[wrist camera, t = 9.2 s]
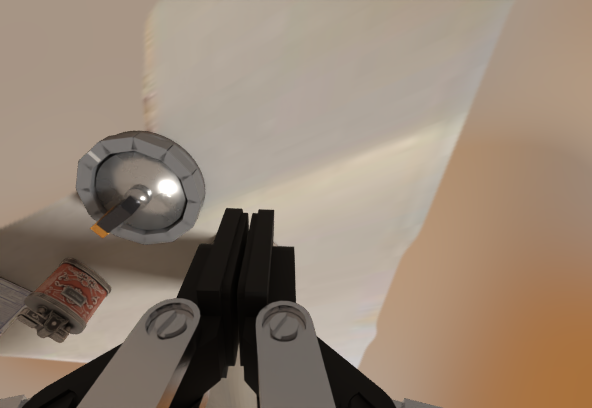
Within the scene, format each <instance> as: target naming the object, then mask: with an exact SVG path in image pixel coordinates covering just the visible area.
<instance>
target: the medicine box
mask: <svg viewBox="0 0 592 408" xmlns="http://www.w3.org/2000/svg"><path fill="white" fill-rule="evenodd" d="M30 293H32V292H30V291H28V290H26V289H24V288H22V287H20V286H17V285H15V284H13V283H11V282H9V281H7V280H4V279H2V278H0V336H1V335H2V334H3V333H4V332H5V331H6V330H7V329H8V328H9V326H10V325H11V324H12V323H13V322H14V321H15V320H16V319H17V315H18V314H19V313H20V312H21V311H22V310H23V309H24V308H26V307H27V306H26V305H25V303H24V300H25V298H26V297H27V296H28V295H29V294H30Z"/></svg>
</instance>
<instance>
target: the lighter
mask: <svg viewBox="0 0 592 408" xmlns="http://www.w3.org/2000/svg"><path fill="white" fill-rule="evenodd" d="M110 292H111V286H110V285H109V284H108V283H107V282H106V281H105V280H104V279H103V278H102V277H101V276H99V275H98V274H97V273H96V272H95V271H93V270H92V269H90V268H89V267H87V266H86V265H84V264H82V263H81V262H79V261H77V260H75V259H73V258H67V259H65V260H64V261H63V262H62V263H61V264H60V265H59V268H58V269H57V270H56V271H55V272H54V273H53V274H52V275H51V276H50V277H49V278H48V279H47V280H46V281H45V282H44V283H43V284H42V285H41V286H40V287H38V288H37V289H36V290H35V291H34V292H32V293H30V294H29V295H28V296H27V297H26V298H25V300H24V303H25V305H26V306H27V307H26V308H24V309H23V310H22V311H21V312H20V313H19V314H18V315H17V319H18V320H19V321H21V322H23V323H24V324H26V325H28V326H29V327H31V328H35V329H36V330H37V335H38V336H39V337H41V338H45V337H50V338H51V339H53V340H55V341H56V342H58V343H62V342H63V341H64V340H65V339H66V338H67V336H68V335H69V333H71V334H79V333H81V332H82V331H83V330H84V329H85V327H86V323H87V322H88V321H89V319H90V318H91V316H92V315H93V313H94V312H95V311H96V309H97V308H98V306H99V305H100V304H101V302H102V301H103V299H104V298H105V297H107V296H108V294H109V293H110Z"/></svg>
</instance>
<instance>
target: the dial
mask: <svg viewBox="0 0 592 408" xmlns="http://www.w3.org/2000/svg"><path fill="white" fill-rule="evenodd" d="M96 190H97V194H98V196H99V199H100V201H101V202H102V204H103V205H104V207H105V208H106V209H107V210H108V212H107V213H106V214H105V215H103V216H102V217H101V218H100V219H99V220H98V221H97V222H96V223H95V224H94V225H93V226H92V227H91V228H90V229H91V230H93V231H94V232H95V233H97V234H98V235H99V236H100V237H102V238H104V237H105V236H106V235H108V234H109V233H110V232H111V231H112V230H113V229H115V228H116V227H117V226H119V225H120V224H121V223H125V224H127V225H129V226H131V227H134V228H138V229H143V230H157V229H162V228H165V227H168V226H170V225H171V224H173V223H174V222H175V221H177V219H178V218H179V217H180V216H181V214H182V212H183V211H184V209H185V207H186V205H187V197H186V194H185V191H184V188H183V185H182V182H181V179H180V178H179V177H178V176H177V175H176V174H175V173H174V172H173V171H172V170H171V169H170V168H169V167H168V166H167V165H165V164H164V163H163V162H162V161H161V160H159V159H156V158H153V157H151V156H148V155H145V154H142V153H140V152H137V151H127V152H119V153H117V154H115V155H114V156H112V157H111V158H109V159H108V160H107V161H105V162H104V163H103V164H102V166H101V167H100V169H99V171H98V173H97V176H96Z"/></svg>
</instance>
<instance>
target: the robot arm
mask: <svg viewBox="0 0 592 408" xmlns="http://www.w3.org/2000/svg"><path fill="white" fill-rule="evenodd" d="M273 236H274V210H261V209H259V211H258V213H253V214H252V218H251V223H250V228H249V221H248V213H243V210H242V209H235V208H226V210H225V213H224V215H223V218H222V221H221V224H220V226H219V229H218V232H217V235H216V237H215V240H214V242H213V243H212V244H200V245H199V247H198V249H197V251H196V254H195V256H194V258H193V261H192V263H191V265H190V268H189V270H188V272H187V275H186V277H185V279H184V282H183V284H182V286H181V288H180V291H179V293H178V295H177V298H174V299H169V300H165V301H162V302H160V303H157V304H156V305H154V306H153V307H151V308H150V309H149V310H148V311H147V312H146V313H145V314H144V315H143V316H142V317H141V319H140V320H139V322H138V323H137V324H136V326H135V327H134V328H133V330H132V331H131V333H130V334H129V335H128V337H127V338H126V340H125V341H124V342H123V343H122V344H120V345H118V346H117V347H115V348H113V349H111V350H110V351H108V352H106V353H104V354H103V355H101V356H99V357H97V358H96V359H94V360H92V361H91V362H89V363H87V364H85V365H84V366H82V367H80V368H78V369H77V370H75V371H73V372H71V373H70V374H68V375H66V376H64V377H63V378H61V379H59V380H57V381H56V382H54V383H52V384H50V385H49V386H47V387H45V388H44V389H42V390H41V391H40V392H38V393H37V394H35V395H34V396H33V397H32V398H29V399H27V398H26V397H25V395H19V396H14V397H9V398H5V399H0V408H442V407H437V406H433V405H430V404H426V403H422V402H417V401H414V400H410V399H406V398H404V400H403V402H399V401H395V400H392V399H391V398H390V397H389V396H388V395H387V394H386V393H385V392H384V391H383V390H382V389H381V388H380V387H378V386H377V385H376V384H375V383H374V382H372V381H371V380H369V378H367V377H366V376H365V375H364V374H362V373H361V372H360V371H359V370H358V369H356V368H355V367H354V366H353V365H351V364H350V363H349V362H348V361H347V360H345V359H344V358H343V357H342V356H340V355H339V354H338V353H337V352H336V351H334V350H333V349H332V348H331V347H329V346H328V345H327V344H326V343H324V342H323V341H322V340H321V339H320V338H318V337H317V336H316V332H315V329H314V325H313V321H312V318H311V316H310V314H309V312H308V311H307V310H306V309H305V308H304V307H302V306H301V305H299V304H297V303H296V289H295V255H294V247H285V246H277V245H276V244H275V243H274V242H273Z"/></svg>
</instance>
